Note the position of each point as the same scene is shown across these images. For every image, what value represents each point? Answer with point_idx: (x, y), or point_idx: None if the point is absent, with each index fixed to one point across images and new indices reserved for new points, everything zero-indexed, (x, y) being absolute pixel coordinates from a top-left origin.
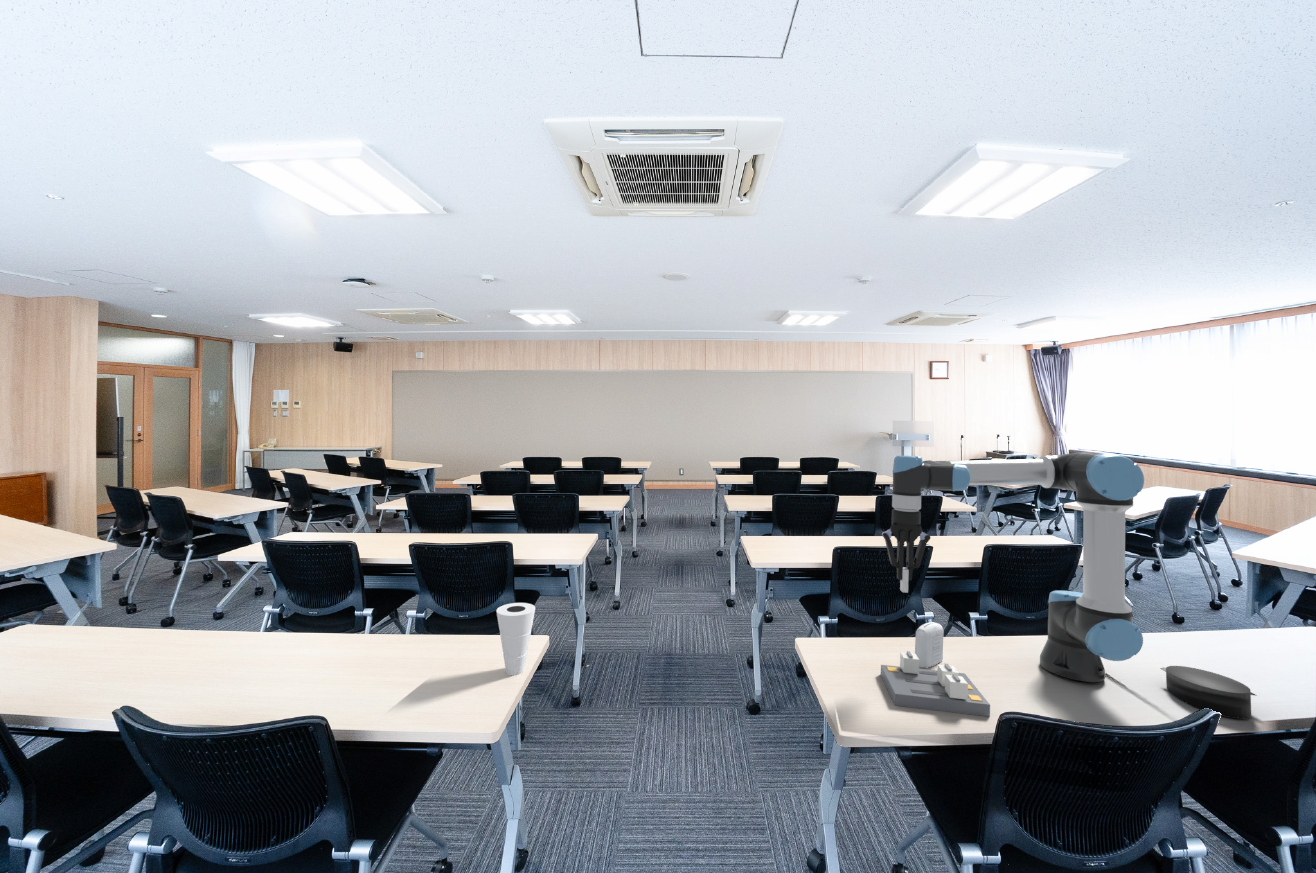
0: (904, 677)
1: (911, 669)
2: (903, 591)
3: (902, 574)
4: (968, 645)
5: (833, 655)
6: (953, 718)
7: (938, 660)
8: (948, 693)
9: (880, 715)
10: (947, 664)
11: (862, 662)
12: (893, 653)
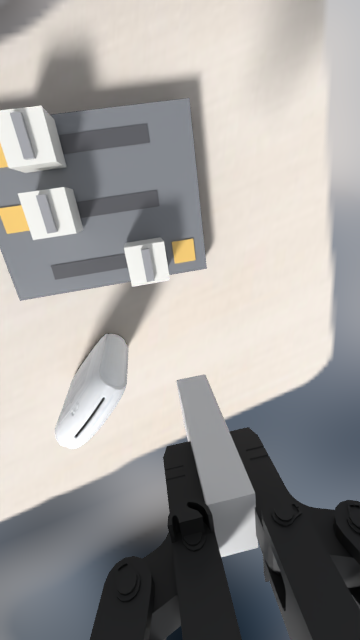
0: (159, 215)
1: (142, 241)
2: (200, 378)
3: (238, 461)
4: (20, 479)
5: (285, 319)
6: (54, 86)
7: (79, 369)
8: (56, 132)
9: (221, 31)
10: (48, 228)
11: (232, 310)
12: (167, 380)
